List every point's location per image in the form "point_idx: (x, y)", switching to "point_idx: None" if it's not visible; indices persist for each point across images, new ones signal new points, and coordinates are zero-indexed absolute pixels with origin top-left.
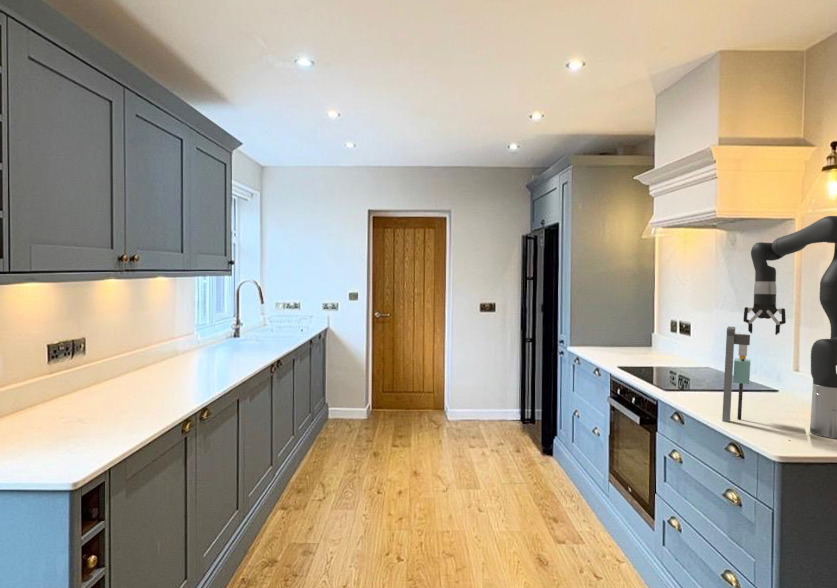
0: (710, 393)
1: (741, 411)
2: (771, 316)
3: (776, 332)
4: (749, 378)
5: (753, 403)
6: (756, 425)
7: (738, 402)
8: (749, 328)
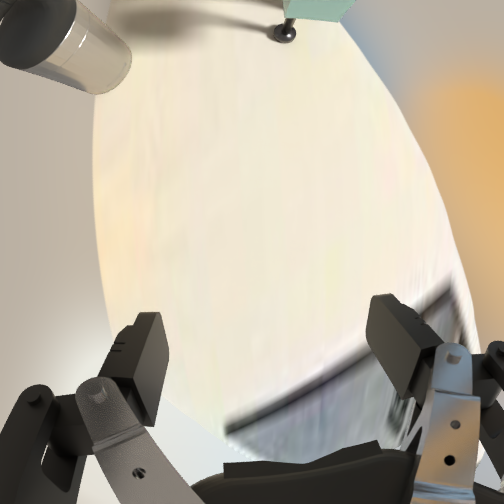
0: (364, 328)
1: (284, 22)
2: (166, 490)
3: (144, 319)
4: (285, 10)
5: (265, 285)
6: (244, 35)
7: None
8: (415, 322)
